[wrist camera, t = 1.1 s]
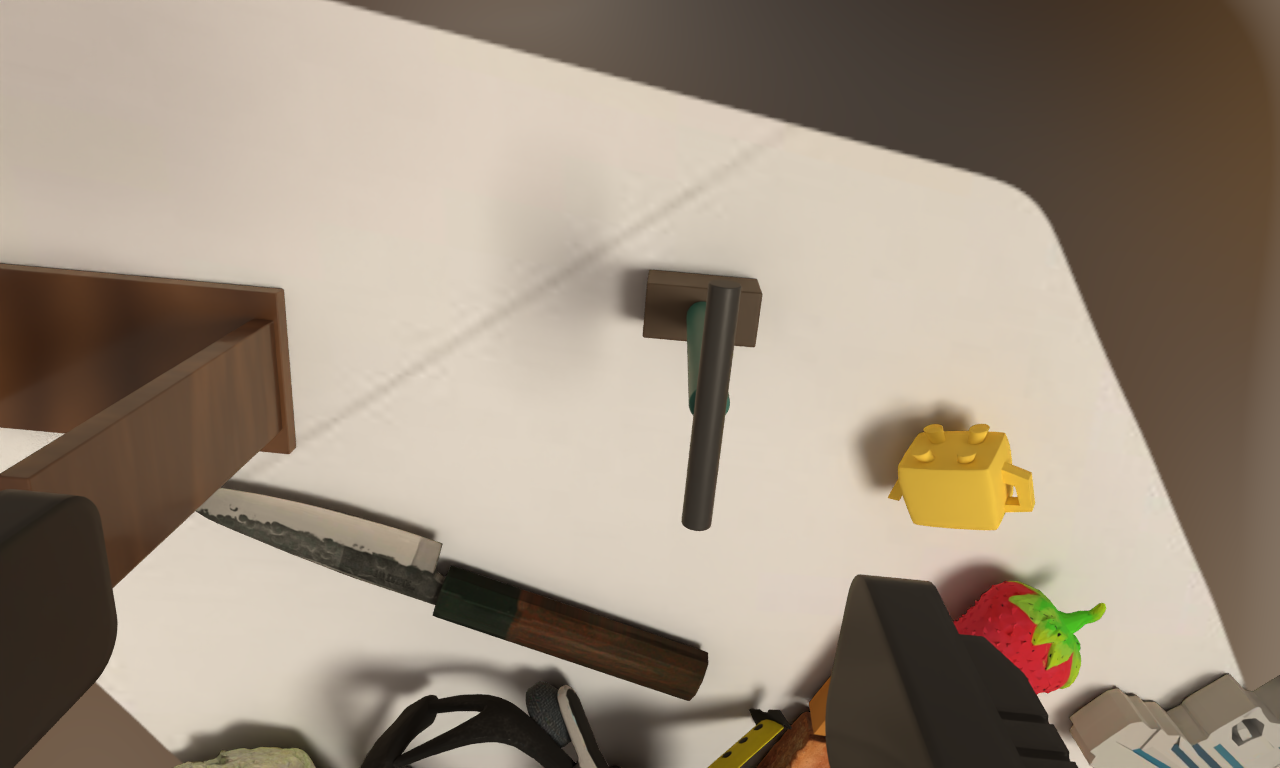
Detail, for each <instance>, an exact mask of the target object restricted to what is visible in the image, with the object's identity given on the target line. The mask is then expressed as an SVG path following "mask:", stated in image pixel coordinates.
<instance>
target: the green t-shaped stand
mask: <svg viewBox="0 0 1280 768" xmlns="http://www.w3.org/2000/svg"><path fill="white" fill-rule="evenodd" d="M761 301H762V292H761V289H760V286H759V283H758V280H757V279H748V278H737V277H726V276H715V275H703V274H692V273H681V272H670V271H659V270H649V274H648V281H647V290H646V302H645V314H644V325H643V337H645V338H656V339H667V340H678V341H687V355H688V393H689V408H690V411H691V413H692V414H693V425H692V434H691V442H690V451H689V460H688V469H687V478H686V487H685V495H684V504H683V513H682V524H683V525H684V526H685V527H686V528H688V529H690V530H694V531H704V530H707V529H709V528H710V526H711V522H712V514H713V506H714V498H715V490H716V483H717V475H718V467H719V459H720V451H721V444H722V436H723V428H724V420H725V415H726V413H727V412H728V410H729V406H730V399H729V393H728V389H729V381H730V374H731V366H732V358H733V350H734V346H745V347H755V344H756V337H757V330H758V323H759V315H760V308H761Z"/></svg>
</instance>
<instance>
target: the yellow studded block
mask: <svg viewBox="0 0 1280 768" xmlns="http://www.w3.org/2000/svg"><path fill="white" fill-rule="evenodd" d="M989 428H990V427H989V426H988V425H986V424H977V425H974V426H972V427H970V429H969V431H944V430H943V427H942V425H939V424H932V425H928V426H926V427H925V428H924V432H922V433H919V434H918V435H917V437H916V438H915V439H914V441H913V442H912V444H911V445H910V447H909V448H908V450H907V452H906V453H905V455H904V456H903V458H902V460H901V461H900V463H899V465H898V480H897V482H896V483H895V485H894V487H893V489H892V491H891V492H890V494H889V496H888V498H890V499H894V500H898V501H899V500H900V499H901V497H902V495H903V497H904V500H905V503H906V506H907V509H908V511H909V514H910V516H911V519H912V521H913V523H914V524H917V525H923V526H932V527H942V528H954V529H971V530H997V528H998V527H999V525H1000V523H1001V521H1002V519H1003V516H1004V514H1005V512H1032V510H1033V508H1034V505H1035V499H1034V490H1033V481H1032V472H1029V471H1027V470H1024V469H1022V468H1019V467H1017V466H1014V465H1012V458H1011V450H1010V445H1009V442H1008V439H1007V436H1006V434H1005V433H1002V432H988V430H989ZM1013 486H1014V487H1015V488H1016V492H1017V496H1018V497H1012V495H1013Z"/></svg>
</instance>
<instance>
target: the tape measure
mask: <svg viewBox="0 0 1280 768" xmlns="http://www.w3.org/2000/svg"><path fill="white" fill-rule="evenodd" d="M749 711H750V713H751V715H752V717H753V719H754V722H755V724H756V726H755V727H754V728H753V729H751V730H750V731H749V732H748V733H747V734H746V735H745V736H743V737H742V738H741V739H740V740H739V741H738V742H736V743H735V744H734V745H733V746H732V747H731V748H730V749H728V750H727V751H726V752H725V753H724V754H723V755H721V756H720V757H719V758H718V759H717V760H716V761H715V762H713V763H712V764H711V765H710V766H709V767H708V768H740V767H741V766H742V765H743V764H744V763H745V762H746V761H748V760H749V759H750V758H751V757H752V756H753V755H754V754H755V753H757V752H758V751H759V750H760V749H761V748H762V747H763V746H764V745H766V744H767V743H768V742H769V741H770V740H771V739H772V738H773V737H775V736H776V735H777V734H778V733H779V732H780V731H781V730H782V729H784V727H783V725H785V726H786V727H787V728H788V729H792V727H791V725H790V724H789V723H788V721H787V720H786V718H785V717H784V715H783V714H782V712H781V711H780V710H768V712H763V711H761V710H760V709H750V710H749Z"/></svg>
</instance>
